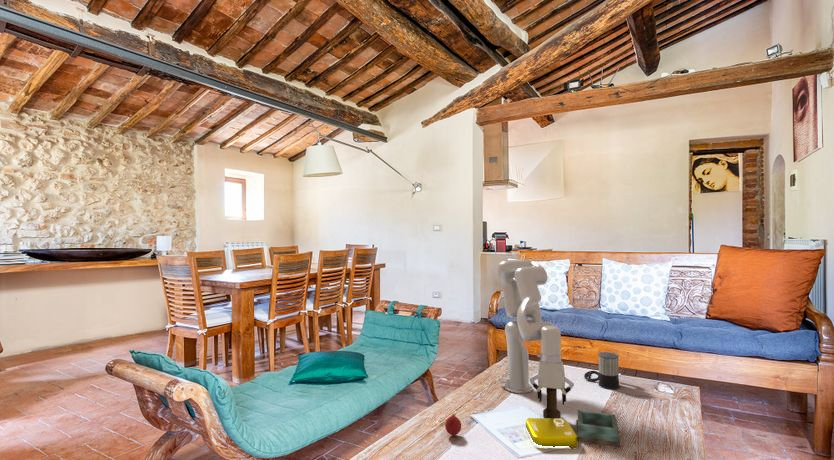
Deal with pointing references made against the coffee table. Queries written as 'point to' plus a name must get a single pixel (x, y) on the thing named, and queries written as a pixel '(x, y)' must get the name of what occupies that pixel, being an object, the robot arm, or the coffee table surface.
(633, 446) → the coffee table surface
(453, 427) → the onion
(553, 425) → the element tile
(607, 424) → the green square tray
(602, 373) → the milk frother
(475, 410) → the coffee table surface
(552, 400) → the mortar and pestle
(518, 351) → the robot arm
